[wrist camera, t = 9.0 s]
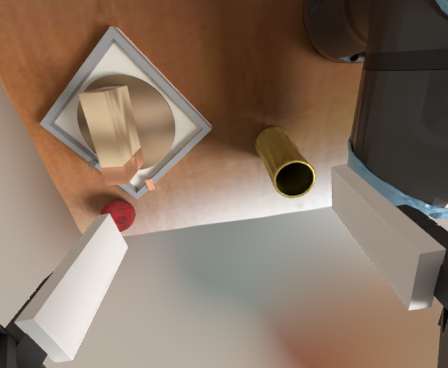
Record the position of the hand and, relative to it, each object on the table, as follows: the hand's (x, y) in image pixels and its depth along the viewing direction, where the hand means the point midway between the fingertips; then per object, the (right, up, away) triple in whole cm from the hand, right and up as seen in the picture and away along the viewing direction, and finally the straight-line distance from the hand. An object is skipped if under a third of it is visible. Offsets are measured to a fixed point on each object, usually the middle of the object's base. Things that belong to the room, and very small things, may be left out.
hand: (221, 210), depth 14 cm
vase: (+9, +9, +28) cm, 31 cm away
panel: (-15, +12, +26) cm, 32 cm away
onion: (-19, -3, +34) cm, 39 cm away
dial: (-15, +11, +25) cm, 31 cm away
